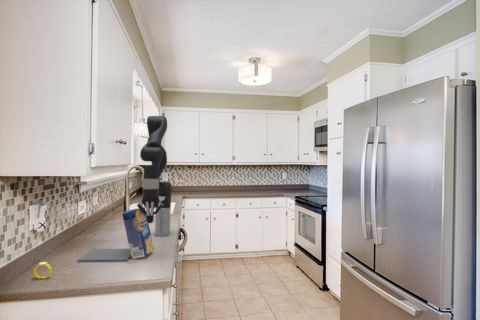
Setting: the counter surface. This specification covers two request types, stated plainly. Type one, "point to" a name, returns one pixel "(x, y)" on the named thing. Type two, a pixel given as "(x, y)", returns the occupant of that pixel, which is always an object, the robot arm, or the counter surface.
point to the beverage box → (138, 233)
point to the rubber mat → (106, 255)
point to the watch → (42, 265)
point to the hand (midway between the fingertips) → (150, 222)
